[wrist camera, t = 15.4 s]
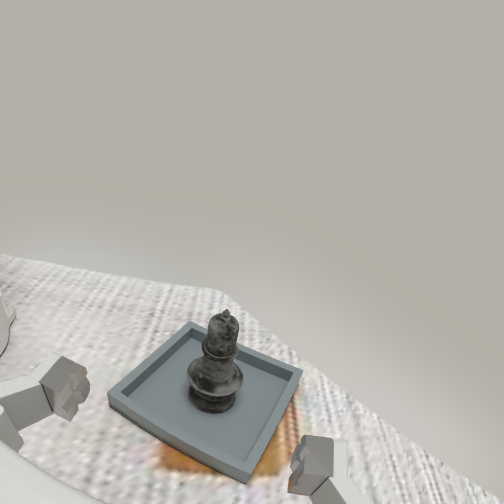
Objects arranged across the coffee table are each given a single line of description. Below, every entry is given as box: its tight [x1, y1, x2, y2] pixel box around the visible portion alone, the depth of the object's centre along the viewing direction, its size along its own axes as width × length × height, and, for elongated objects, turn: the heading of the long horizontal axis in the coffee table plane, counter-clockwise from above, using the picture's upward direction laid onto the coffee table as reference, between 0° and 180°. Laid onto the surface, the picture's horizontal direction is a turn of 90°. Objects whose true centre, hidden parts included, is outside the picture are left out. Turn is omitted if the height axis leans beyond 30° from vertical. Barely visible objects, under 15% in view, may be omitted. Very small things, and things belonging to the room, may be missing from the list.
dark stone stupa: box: [187, 309, 243, 414], centre depth 30 cm, size 6×6×12 cm
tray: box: [107, 321, 304, 484], centre depth 33 cm, size 16×16×2 cm
